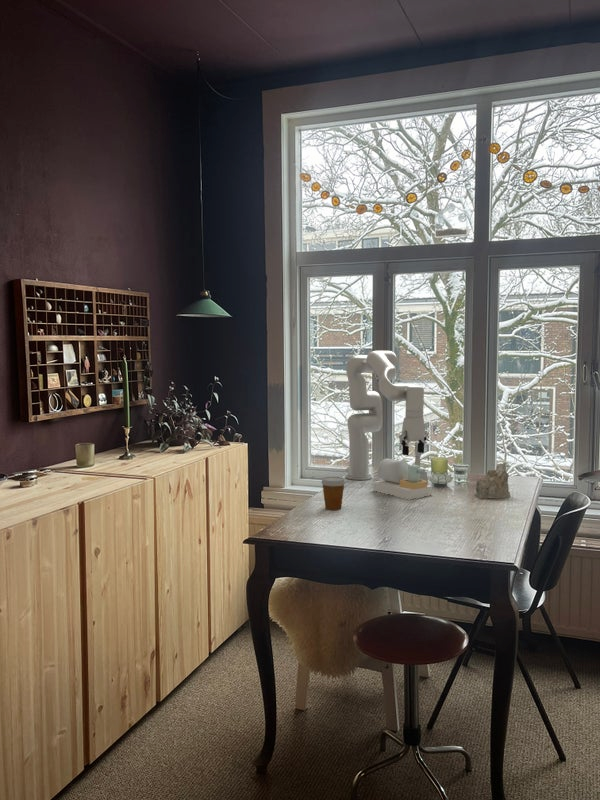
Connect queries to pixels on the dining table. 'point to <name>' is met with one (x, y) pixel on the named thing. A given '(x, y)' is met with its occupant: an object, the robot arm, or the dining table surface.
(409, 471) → the drain pump
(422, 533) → the dining table surface
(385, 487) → the motor plinth
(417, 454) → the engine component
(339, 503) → the disposable coffee cup
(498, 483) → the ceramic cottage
